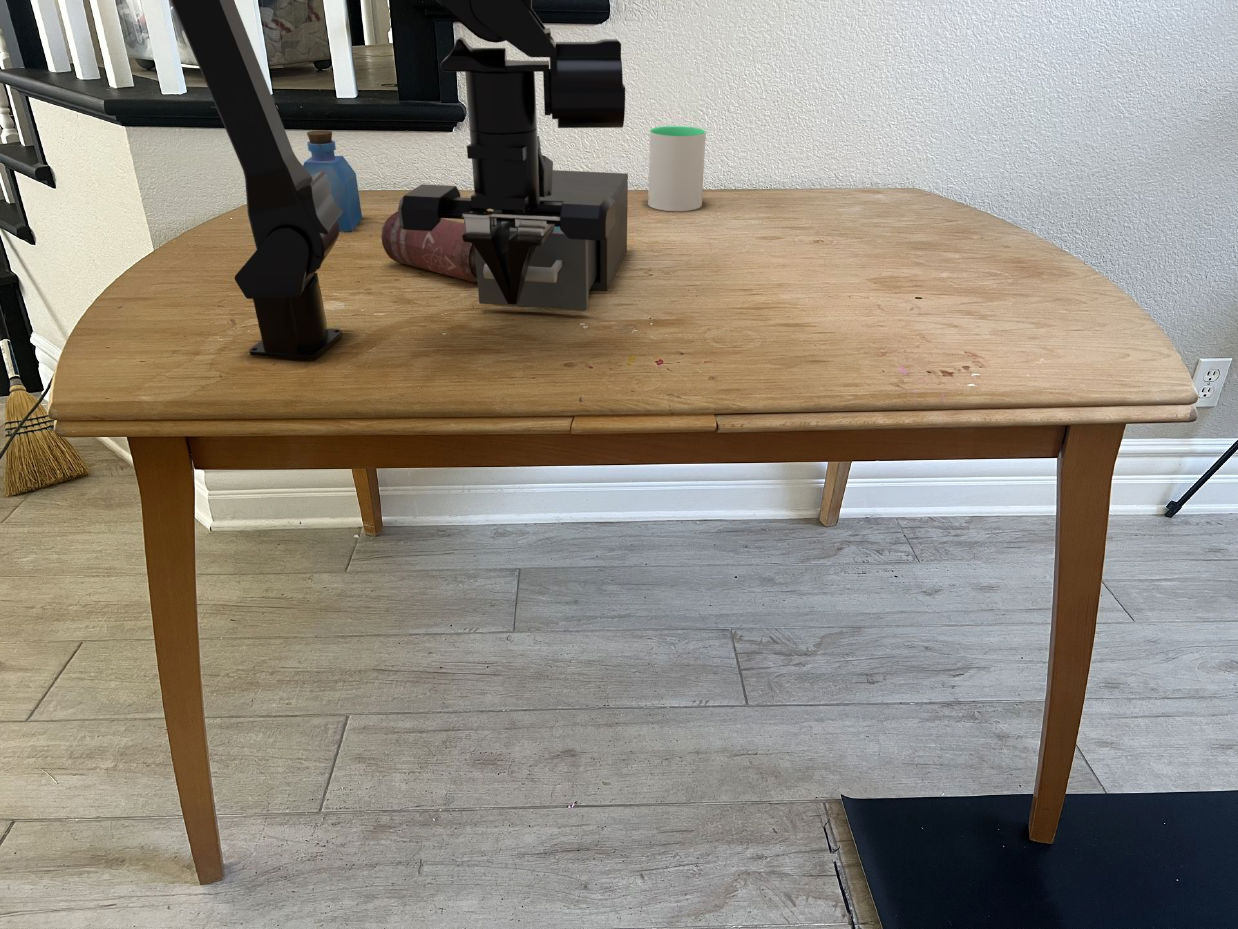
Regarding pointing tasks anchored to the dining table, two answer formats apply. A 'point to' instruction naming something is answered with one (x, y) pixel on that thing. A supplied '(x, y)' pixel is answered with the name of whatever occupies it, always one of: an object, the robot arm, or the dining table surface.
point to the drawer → (549, 274)
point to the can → (431, 248)
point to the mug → (676, 168)
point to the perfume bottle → (335, 177)
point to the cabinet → (617, 238)
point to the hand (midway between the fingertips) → (513, 303)
